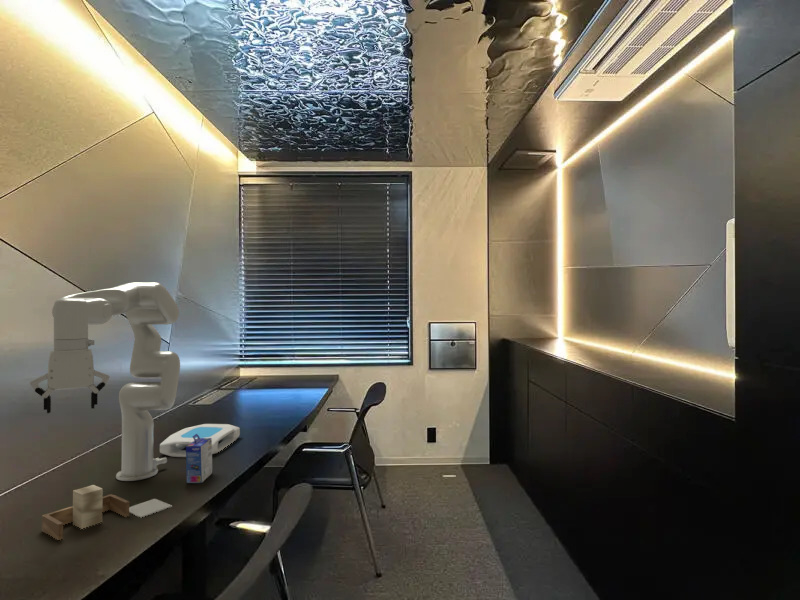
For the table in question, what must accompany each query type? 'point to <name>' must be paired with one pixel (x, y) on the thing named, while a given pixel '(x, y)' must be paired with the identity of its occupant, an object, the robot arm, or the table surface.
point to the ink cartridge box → (198, 459)
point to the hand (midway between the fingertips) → (71, 409)
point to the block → (87, 506)
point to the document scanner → (185, 437)
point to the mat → (148, 508)
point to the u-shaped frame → (57, 519)
